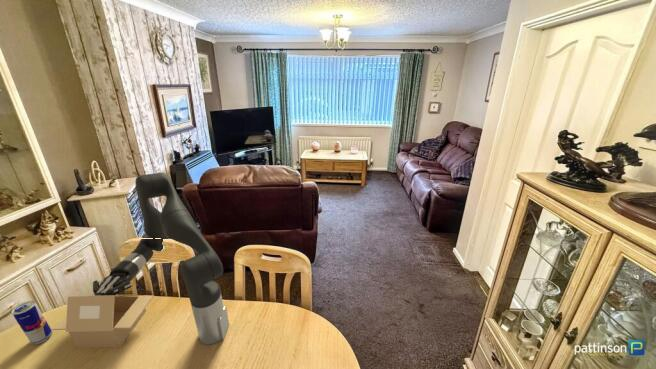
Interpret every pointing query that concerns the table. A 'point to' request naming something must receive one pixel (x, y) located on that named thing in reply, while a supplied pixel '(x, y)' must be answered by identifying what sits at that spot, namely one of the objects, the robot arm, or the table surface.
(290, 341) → the table surface
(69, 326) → the lid flap
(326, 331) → the table surface
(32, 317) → the beverage can
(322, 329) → the table surface
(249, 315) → the table surface
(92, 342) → the carton
